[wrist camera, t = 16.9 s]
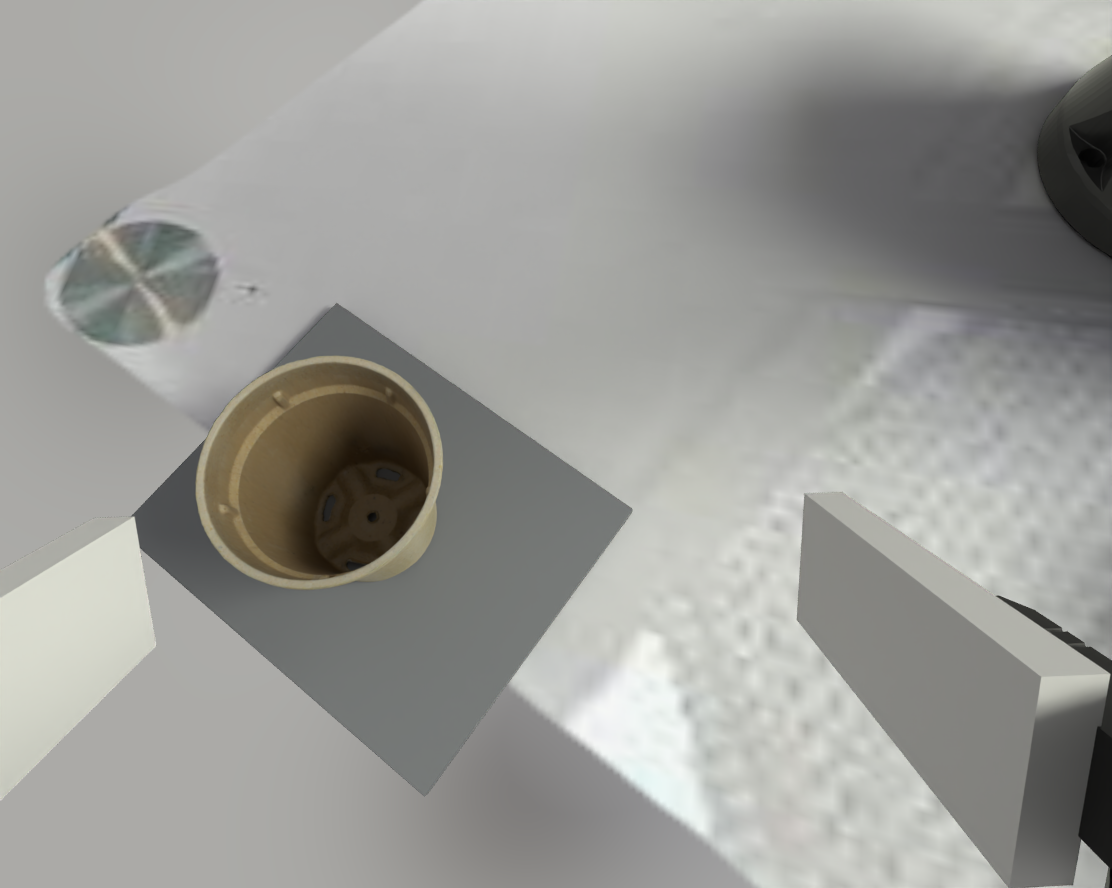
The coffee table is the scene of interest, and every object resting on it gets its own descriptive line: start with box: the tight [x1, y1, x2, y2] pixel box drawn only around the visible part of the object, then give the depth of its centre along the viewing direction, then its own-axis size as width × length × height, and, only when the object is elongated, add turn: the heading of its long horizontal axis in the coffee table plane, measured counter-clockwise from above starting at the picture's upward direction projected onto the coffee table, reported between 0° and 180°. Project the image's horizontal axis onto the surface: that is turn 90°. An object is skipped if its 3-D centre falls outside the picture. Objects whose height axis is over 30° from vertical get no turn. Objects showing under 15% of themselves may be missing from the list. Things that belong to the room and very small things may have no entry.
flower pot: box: [195, 356, 443, 590], centre depth 31 cm, size 9×9×9 cm
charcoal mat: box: [131, 303, 633, 796], centre depth 35 cm, size 20×16×1 cm
